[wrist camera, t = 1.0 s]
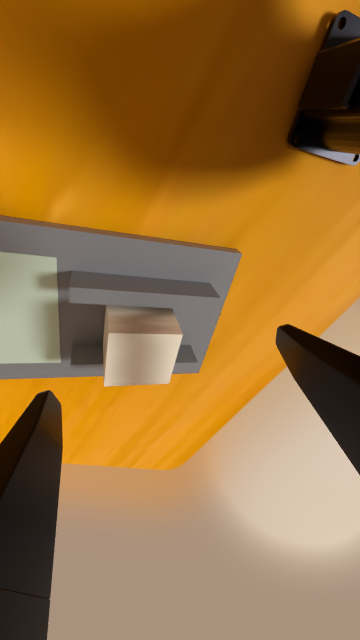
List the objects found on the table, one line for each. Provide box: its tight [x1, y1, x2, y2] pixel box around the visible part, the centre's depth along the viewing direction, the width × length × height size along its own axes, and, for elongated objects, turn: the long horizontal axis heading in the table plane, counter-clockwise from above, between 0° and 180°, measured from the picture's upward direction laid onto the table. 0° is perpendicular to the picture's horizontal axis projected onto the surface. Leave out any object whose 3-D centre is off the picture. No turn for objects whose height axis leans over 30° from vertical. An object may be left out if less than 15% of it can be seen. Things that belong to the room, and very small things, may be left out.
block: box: [103, 305, 183, 386], centre depth 21 cm, size 5×5×5 cm
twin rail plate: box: [0, 215, 242, 379], centre depth 21 cm, size 23×14×4 cm, turn 76°
